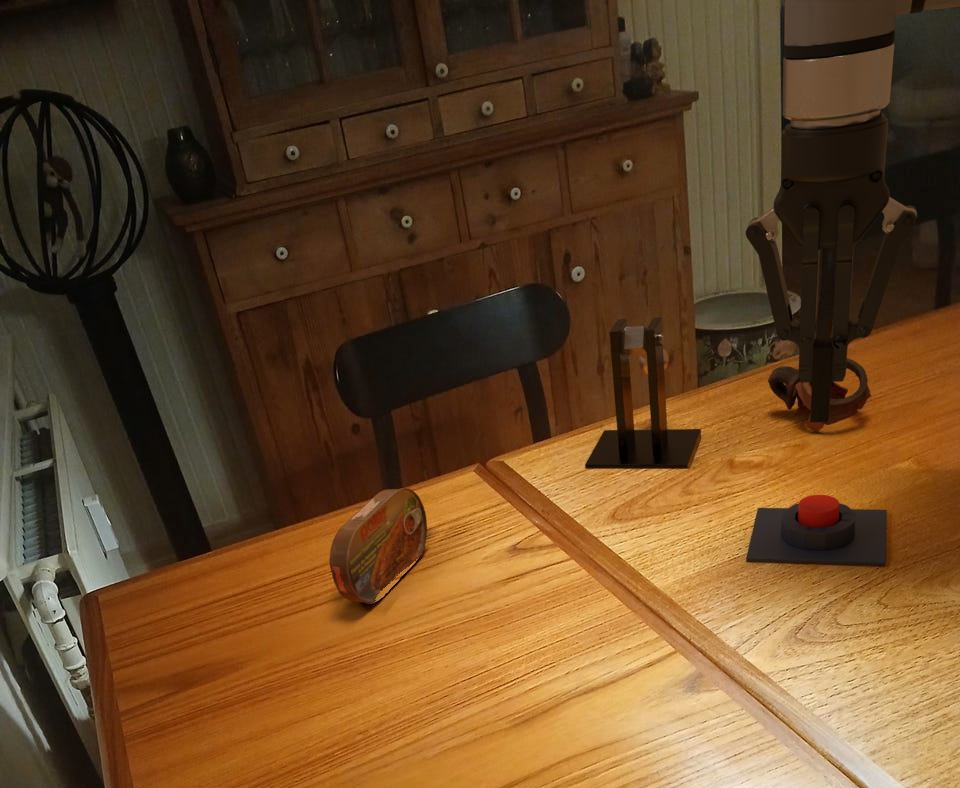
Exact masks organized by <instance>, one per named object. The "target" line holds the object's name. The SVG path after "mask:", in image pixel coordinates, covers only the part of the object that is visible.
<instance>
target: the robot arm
mask: <svg viewBox="0 0 960 788" xmlns="http://www.w3.org/2000/svg"><path fill="white" fill-rule="evenodd" d="M958 7H959V8H960V0H784V43H783V44H784V49H783V51H784V52H783V55H784V57H783V61H782V62H783V64H782V65H783V67H782V116H783V118H785V119H786V120H789V121H790V123H788V124H786V125H785V126H784V129H783V130H782V131H781V156H780V157H781V158H780V159H781V160H780V162H781V164H780V187H779V190H778V192H777V194H776V196H775V198H774V199H773V207H771V208H770V209H769V210H768V211H766V212H765V213H764V214H762V215H761V216H760V217H753V218H752V219H751V220H750V221H749V223H748V225H747V227H746V230H745V237H746V239H747V240H748V242H749V244H750V245H751V246H752V248H753V249H754V250H755V252H756V253H757V255H758V259H759V263H760V268H761V271H762V272H761V273H762V277H763V281H764V285H765V289H766V294H767V297H768V302H769V306H770V310H771V315H772V319H773V323H774V327H775V332H776V336H777V338H778V339H779V340H780V341H782V342H785V341H786V342H787V341H789V342H792V343H795V344H796V345H797V346H798V370H799V373H798V377H799V380H800V382H801V383H803V382H812V392H811V410H810V413H811V415H810V414H809V416H810V422H828V420H829V413H830V399H831V382H835V383H839V382H840V383H841V382H843V381H844V379H845V377H846V373H847V369H846V364H847V358H848V347H849V345H850V343H851V342H853V341H855V340H857V339H860V338H861V339H865V338H868V337H869V336H870V335H871V334H872V331H873V328H874V326H875V322H876V319H877V316H878V314H879V310H880V307H881V304H882V301H883V298H884V295H885V292H886V290H887V287H888V283H889V281H890V277H891V274H892V271H893V268H894V265H895V262H896V259H897V257H898V255H899V254H898V252H899V251H900V247H901V245H902V244H903V243H904V241H905V240H906V238H907V237H908V235H909V234H910V233H911V232H912V231H913V229H914V228H915V226H916V225H917V223H918V212H917V209H916V207H915V206H913V205H906V206H905V205H904V204H902V203H900V202H899V201H897V200H895V198H892V197H891V192H890V191H891V189H890V186H889V184H888V182H887V181H886V178H885V177H886V175H885V170H886V159H887V158H886V157H887V145H888V143H887V142H888V134H889V133H888V132H889V131H888V130H889V118H887V115H886V114H885V113H883V112H882V111H881V110H882V109H885V108H886V107H887V106H888V105H889V104H890V103H891V89H892V77H893V76H892V75H893V64H894V53H895V36H896V30H895V28H896V23H897V18H898V16H899V15H905V14H911V15H913V14H919V13H922V12H925V11H932V10H933V11H934V10H942V9H951V8H958ZM881 214H883V217H884V218H883V220H882V223H881V228H882V231H883V232H884V233H885V234H884V235H883V239H882V241H881V244H880V248H879V251H878V254H877V256H876V260H875V263H874V265H873V270H872V272H871V275H870V279H869V281H868V285H867V288H866V291H865V294H864V296H863V297H864V298H863V300H862V304H861V306H860V309H859V313H858V316H857V318H854V319H851V320H850V317H851V300H852V286H853V285H852V283H853V282H852V281H853V267H854V252H855V245H856V244H857V243H858V242H859V241H860V240H861V239H862V238H864V235H865V234H866V233H867V232H868V230H869V229H870V228H871V227H872V225H873V224H874V222H875V221H876V220H877V218H878V217H879V216H880V215H881ZM779 221H780V222H781V224H782V225H783V226H784V228H785V230H786V231H787V232H788V234H789V235H790V236H791V238H792V239H793V240H794V241H795V243H796V244H797V245H798V246H799V247H800V248H802V250H801V283H800V284H801V285H800V286H801V287H800V308H799V309H800V310H799V311H800V312H799V313H800V314H799V321H795V320H794V319H795V318H794V315H793V309H792V307H791V302H790V297H789V293H788V288H787V284H786V280H785V279H786V278H785V275H784V270H783V266H782V261H781V256H780V252H779V247H778V244H777V241H776V239H777V238H778V235H779V232H780V231H779V227H778V222H779ZM826 248H830V249H836V251H835V252H836V253H835V277H834V297H833V315H832V317H833V318H832V336H831V337H817V329H818V328H817V325H818V323H817V322H818V302H819V283H820V281H819V280H820V260H821V250H824V249H826Z"/></svg>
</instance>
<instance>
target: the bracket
mask: <svg viewBox="0 0 960 788" xmlns="http://www.w3.org/2000/svg"><path fill="white" fill-rule="evenodd" d="M662 320H663V319H662V317H661V316H658V317H652V319H651V320H650V322H649V324H648V325H647V327H646V331H645V333H646V350H647V366H648V375H647V381H648V383H647V384H648V397H649V413H650V415H649V416H650V429H635V422H634V421H635V420H634V406H633V393H632V379H631V363H630V354H628V353H627V351H626V350H625V349H624V337H625V327H628V319H627V318H619V319H617V320H616V322H615V323H614V325H612V327H611V329H610V330H609V332H608V333H609V339H608V345H609V348H610V357H611V358H610V359H611V370H612V381H613V395H614V406H615V408H614V409H615V420H616V421H615V422H616V429H604V430H603V431H602V433H601V435H600V437H599V439H598V440H597V442H596V444H595V446H594V448H593V450H592V451H591V453H590V455H589V456H588V459H587V460H586V462H585V464H584V469H585V470H690V468H691V466H692V463H693V461H694V458H695V456H696V452H697V450H698V447H699V445H700V442H701V439H702V429H701V428H677V429H676V428H673V429H672V428H670V429H668V418H667V417H668V414H667V399H666V398H667V397H666V394H667V393H666V378H665V375H666V374H665V371H664V355H663V349H664V345H665V333H664V332H663V321H662Z"/></svg>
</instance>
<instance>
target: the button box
mask: <svg viewBox="0 0 960 788" xmlns="http://www.w3.org/2000/svg"><path fill="white" fill-rule="evenodd" d="M839 504H840V505H839V520H838V522H837V524H835V525H832V526H827V527H808V526H805V525H802V524H800V523H799V522H798V505H799V502H798V503H794V504H792V505H791V506H789V507H757V509H756V514H755V518H754V523H753V526H752V532H751V535H750V539H749V544H748V547H747V553H746V557H745V563H754V564H755V563H756V564H783V565H785V564H786V565H813V566H840V567H841V566H842V567H843V566H844V567H845V566H847V567H870V568H871V567H873V568H885V567H886V562H887V561H886V560H887V559H886V557H887V515H888V510H887V509H874V508H873V509H872V508H871V509H869V508H868V509H867V508H864V509H862V508H861V509H860V508H851V507H849V506H848V505H846V504H844V503H840V502H839Z"/></svg>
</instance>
